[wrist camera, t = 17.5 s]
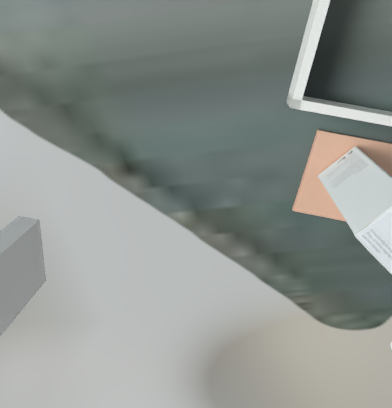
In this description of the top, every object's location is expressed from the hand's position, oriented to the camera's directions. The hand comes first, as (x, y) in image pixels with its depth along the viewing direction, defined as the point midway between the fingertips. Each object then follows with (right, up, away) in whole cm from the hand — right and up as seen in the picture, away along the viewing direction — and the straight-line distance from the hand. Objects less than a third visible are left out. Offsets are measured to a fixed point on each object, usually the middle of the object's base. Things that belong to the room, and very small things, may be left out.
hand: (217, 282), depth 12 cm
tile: (+19, +6, +32) cm, 37 cm away
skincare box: (+20, +6, +31) cm, 37 cm away
